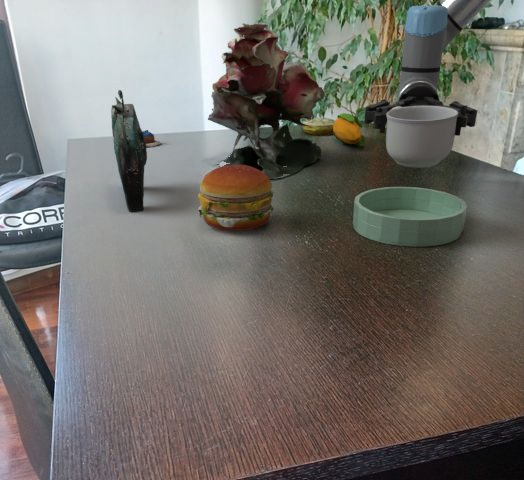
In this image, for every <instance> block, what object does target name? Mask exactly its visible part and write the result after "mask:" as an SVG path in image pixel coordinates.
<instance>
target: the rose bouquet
mask: <svg viewBox="0 0 524 480" xmlns="http://www.w3.org/2000/svg"><path fill="white" fill-rule="evenodd" d="M268 27H269V23H266V22H255V23H254V24H249V23H242V25H241V26H238V27H237V28H233V31H234V33H235V34H237V35H238V36H237V37H235V38H233V39H231V40H229V42H228V43H227V46H226V47H227V48H228V49H230V50H231V51H228V52H223V53H222V54H221V59H222V61H223V62H222V64H224V65H225V74H223V75H221V76H220V77H219V79H218V80H217V81H216V82H213V83H212V91H211V95H210V97H211V98H212V105H213V108H211V111H212V112H211V113H210V114H209V115H208V117H207V120H208V121H211V122H212V123H214V124H218V125H219V126H223V127H225V128H226V129H229V130H232V131H234V132H236V133H237V136H236V137H235V141H234V145H233V150H232V152H231V153H232V154H231V153H230V154H231V155H230V157H228V156H227V157H226V158H225V159H224V160H225V161H224V160H223V161H224V162H226V163H230V164H226V165H247V166H251V167H253V168H255V167H259V166H260V167H261V168H262V170H261V171H262V172H263V173H264V174H265V175H266V176H267V177H268V178H269V180H270V179H274V180H277V179H276V178H278V177H281V176H283V174H292V175H294V174H296V173H298V172H300V171H301V170H303V169H304V167H305V166H307V165H312V164H314V163H316V162H317V160H318V159H320V158H322V154H323V153H322V149H321V146H320V145H317V141H315V142H313V140H311V139H308V138H306V137H297V138H293V136H292V135H291V132H290V128H289V122H291V123H294V124H295V125H298V126H300V127H302V126H303V127H304V126H308V125H306V124H303V123H302V121H301V119H305V120H311V119H313V117H314V111H313V109H315V108H316V107H317V103H318V102H320V101H321V100H323V99H324V98H325V97H326V93H325V91H324V89H323V87H322V86H320V85H319V83H318V82H317V81H316V80H315V79H314V78H313V77H312V75H311V74H310V71H309V70H308V69H307V66H305V65H302V64H300V63H299V62H298V61H289V62H287V63H286V59H287V57H289V53H288V52H287V50H282V49H281V48H280V46H279V44H278V40H279V34H278V33H277V32H276V33H275V32H274V31H273V30H271V29H270V28H268ZM280 121H288V122H287V123H285V124H284V125H282V126H281V127H280V125H281V124H280ZM262 126H269V127H271V128H272V133H271V134H270V135H269V136H267V137H263V138H262V137H261V136H260V135H261V134H260V132H261V130H260V128H261V127H262ZM303 127H302V128H303ZM308 127H310V126H308ZM310 128H312V127H310ZM242 137H244V138H243V142H246V140H247V139H248V140H250V142H251V144H252V145H250V144H247V145H246V146H243V147H238V148H236V146H237V145H238V144H239V142H240V140H241V138H242ZM226 165H224V166H226ZM254 166H255V167H254ZM283 166H287V167H283Z"/></svg>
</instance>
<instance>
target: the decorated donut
mask: <svg viewBox="0 0 524 480" xmlns="http://www.w3.org/2000/svg"><path fill="white" fill-rule="evenodd" d="M335 120H336V119H335ZM335 120H334V119H333V118H328V117H315V118H314V117H313V118H311V120H308V119H305V120H303V121H301V123H303V124H306V125H308V126H310V127H312V128H310V127H308V126H304V127H303V126H301V127H302V131H304V133H306V134H308V135H313V136H324V135H327V136H328V135H332V134H333V124H334V122H335Z"/></svg>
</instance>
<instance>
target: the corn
mask: <svg viewBox="0 0 524 480" xmlns="http://www.w3.org/2000/svg"><path fill="white" fill-rule="evenodd" d="M362 128H363V126H362V123H361V120H360V119H359V118H358V117H357V116H356V115H354V114H353V115H352V114H350V113H346V112H345V113H344V112H343V113H340V114H338V115H337V117H336V119H335V122H334V124H333V133H332V134H333V136H334V137H335V138H336V140H337V141H338V142H339V143H341V144H342V145H346V144H349V145H352V144H354V145H355V146H358V147H362V146H364V145H365V144H366V137H365V136H364V135H363V134H362V131H361V129H362Z"/></svg>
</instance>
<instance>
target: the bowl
mask: <svg viewBox="0 0 524 480" xmlns="http://www.w3.org/2000/svg"><path fill="white" fill-rule="evenodd" d="M467 211H468V206H467V202H466V201H464V199H462V198H460V197H459V196H456V195H454V194H452V193H449V192H445V191H442V190H437V189H434V188H433V189H432V188H426V187H425V188H424V187H416V186H415V187H414V186H386V187H377V188H373V189H372V188H371V189H368V190H366V191H362V192H360V193H359V194H358V195H356V196H355V198H354V201H353V213H352V214H353V216H352V227H353V229H354V232H356V233H357V234H358V235H360V236H361V237H364V238H366V239H368V240H371V241H374V242H378V243H381V244H385V245H392V246H400V247H414V248H417V247H418V248H419V247H420V248H421V247H434V246H440V245H441V246H442V245H445V244H449V243H452V242H453V241H456V240H458V239H459V238H460V237H461V236H462V234H463V231H464V227H465V221H466V217H467Z"/></svg>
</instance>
